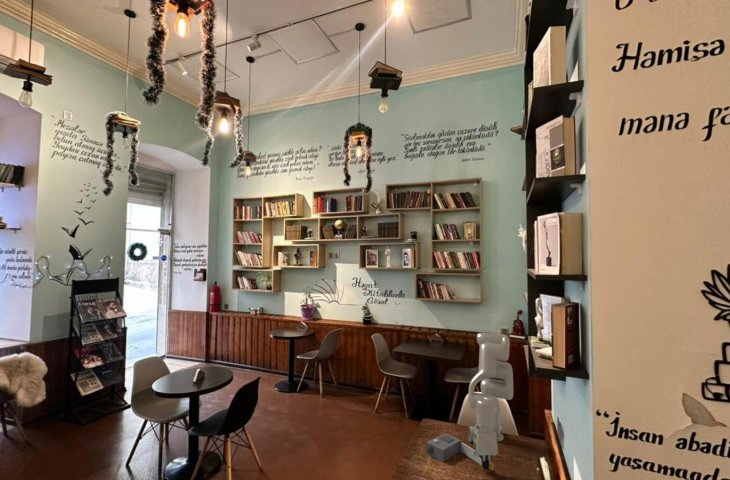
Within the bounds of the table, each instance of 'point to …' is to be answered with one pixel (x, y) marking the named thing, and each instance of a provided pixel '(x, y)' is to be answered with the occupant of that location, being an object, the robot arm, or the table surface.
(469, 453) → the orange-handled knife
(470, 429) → the ceramic mug
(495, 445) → the robot arm
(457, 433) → the table surface
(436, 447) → the grey control box
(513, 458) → the table surface
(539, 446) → the table surface
